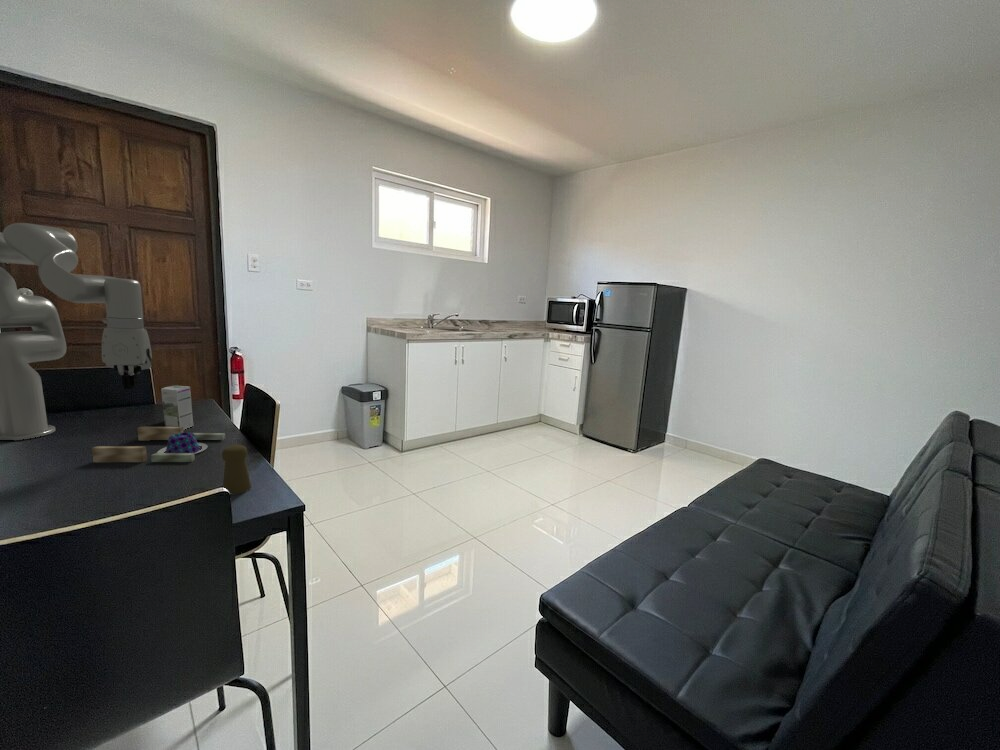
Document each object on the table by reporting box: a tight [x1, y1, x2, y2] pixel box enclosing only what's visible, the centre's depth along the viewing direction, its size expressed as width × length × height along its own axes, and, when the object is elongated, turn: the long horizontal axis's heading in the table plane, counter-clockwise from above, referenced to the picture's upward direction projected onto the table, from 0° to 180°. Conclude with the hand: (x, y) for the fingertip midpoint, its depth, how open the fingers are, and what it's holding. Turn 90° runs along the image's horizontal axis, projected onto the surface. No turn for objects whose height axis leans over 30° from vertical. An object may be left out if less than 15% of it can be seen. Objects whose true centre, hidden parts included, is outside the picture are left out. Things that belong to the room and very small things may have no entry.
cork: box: [221, 444, 252, 496], centre depth 101 cm, size 6×6×11 cm
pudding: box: [156, 431, 209, 455], centre depth 123 cm, size 12×12×5 cm
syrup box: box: [160, 385, 194, 431], centre depth 140 cm, size 6×6×14 cm
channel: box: [91, 426, 226, 463], centre depth 123 cm, size 24×19×4 cm
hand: (130, 388), depth 119 cm, fingers closed
